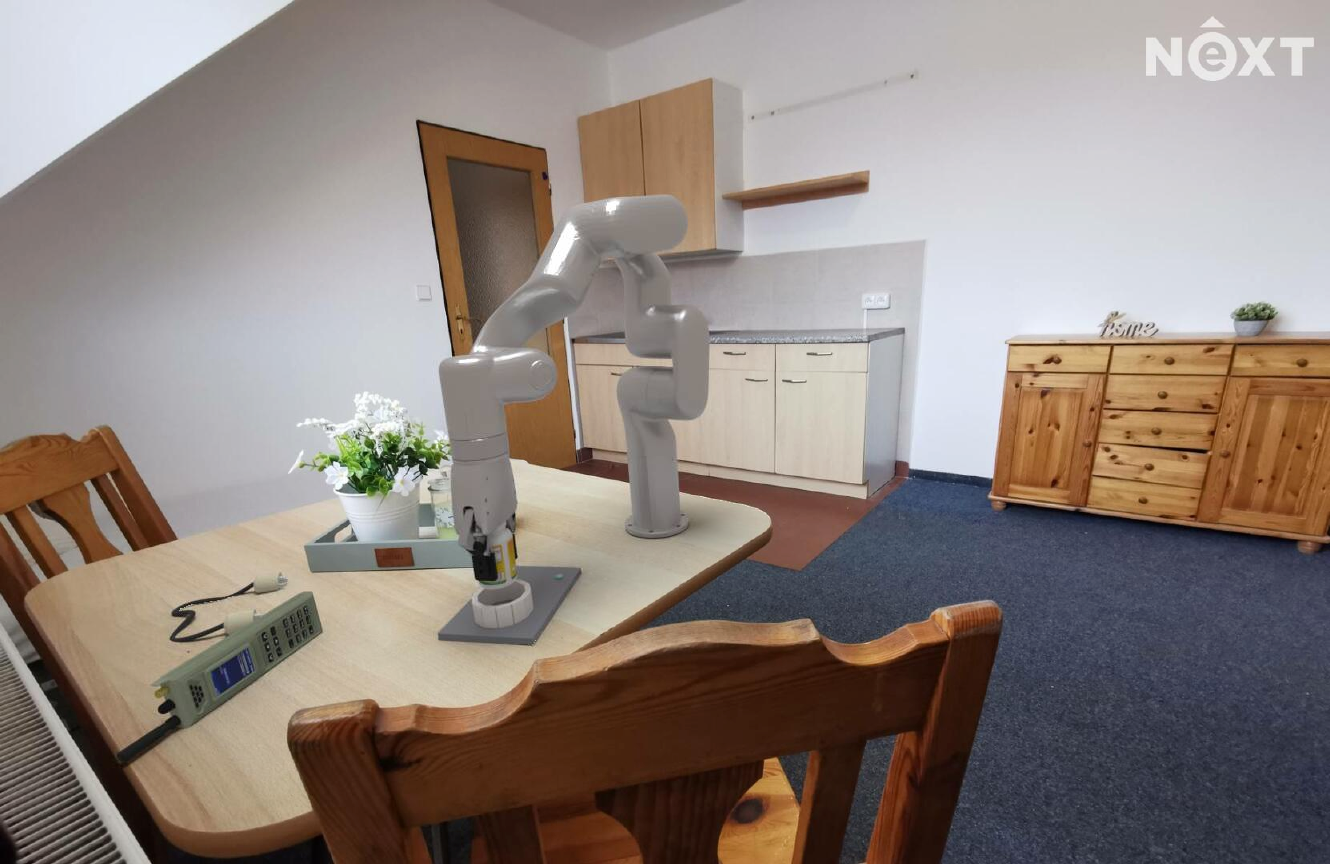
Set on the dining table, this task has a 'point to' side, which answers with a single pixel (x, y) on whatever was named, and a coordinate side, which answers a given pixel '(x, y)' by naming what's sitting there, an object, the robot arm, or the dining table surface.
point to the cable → (232, 619)
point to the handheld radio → (230, 666)
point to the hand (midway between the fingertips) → (497, 568)
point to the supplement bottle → (501, 558)
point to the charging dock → (526, 627)
